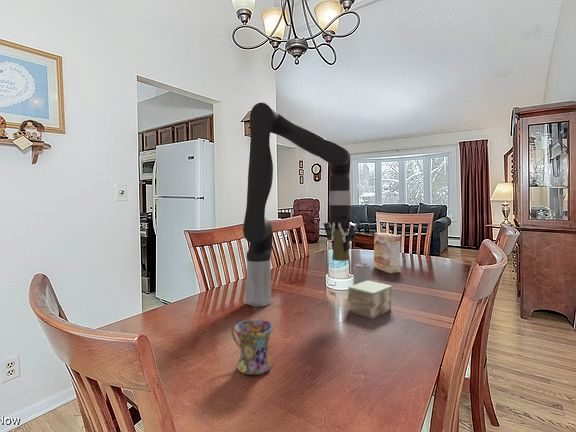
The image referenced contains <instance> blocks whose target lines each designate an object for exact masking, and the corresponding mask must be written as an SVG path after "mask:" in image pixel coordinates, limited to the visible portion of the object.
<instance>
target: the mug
mask: <svg viewBox="0 0 576 432" xmlns="http://www.w3.org/2000/svg"><path fill="white" fill-rule="evenodd" d="M273 328H274V326H273V324H272V322H270V321H268V320H265V319H254V318H253V319H247V320H243V321H240V322H239V323H237V324H235V326H232V328H231V331H230V333H231V336H232V339H233V341H234V343H235V344H236V346H238V347H239V349H240V356H239V360H238V362H237V365H236V367H237V370H238V371H239V372H240V373H242V374H245V375H251V376H257V375H261V374H264V373H266V372H268V371H269V370H270V369H271V367H272V364H273V363H272V360H271V358H270V355H269V348H268V347H269V341H270V340H269V339H270V335H271V333H272V331H273ZM235 333H236V335H235ZM236 336H237V337H236ZM237 338H238V339H237Z"/></svg>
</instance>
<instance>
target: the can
mask: <svg viewBox="0 0 576 432" xmlns="http://www.w3.org/2000/svg"><path fill="white" fill-rule="evenodd" d="M370 265H371V264H369V263H366V262H365V263H364V262H362V263H361V262H359V263H355V264H354V266H353V268H352V269H353V271H352V274H353V281H352V282H353V284H352V285H355V284H358V283H361V282H364V281H367V280H369V281H372V267H371V266H370Z"/></svg>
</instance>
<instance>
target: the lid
mask: <svg viewBox="0 0 576 432" xmlns="http://www.w3.org/2000/svg"><path fill="white" fill-rule="evenodd" d="M349 289H351V290H354V291H358V292H362V293H366V294H370V295H376V294H378V293H381V292H383V291H386V290H388V289H391V290H392V289H393V285H391V284H386V283H383V282H382V283H381V282H377V281H373V280H371V281H369V280H367V281H364V282H361V283H358V284H355V285H353V284H352V285H350V286H348V290H349Z"/></svg>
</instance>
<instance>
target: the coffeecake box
mask: <svg viewBox="0 0 576 432" xmlns="http://www.w3.org/2000/svg"><path fill="white" fill-rule="evenodd" d="M401 237H402V235H397V234H393V233H388V232H374V237H373V268H375V269H378V270H380V271H383V272H386V273H387V274H394V273H400V272H401Z"/></svg>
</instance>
